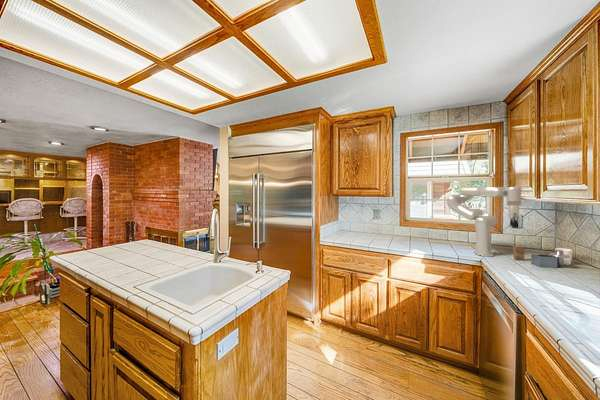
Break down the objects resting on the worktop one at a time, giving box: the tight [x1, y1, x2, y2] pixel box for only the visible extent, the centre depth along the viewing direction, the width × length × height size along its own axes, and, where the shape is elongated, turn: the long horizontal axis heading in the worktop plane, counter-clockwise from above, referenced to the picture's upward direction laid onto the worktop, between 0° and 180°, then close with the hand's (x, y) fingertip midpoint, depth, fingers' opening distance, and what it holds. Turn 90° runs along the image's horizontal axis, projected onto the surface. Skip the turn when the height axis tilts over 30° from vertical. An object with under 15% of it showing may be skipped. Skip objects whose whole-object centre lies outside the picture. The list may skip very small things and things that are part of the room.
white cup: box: [554, 247, 573, 266], centre depth 157 cm, size 8×8×10 cm
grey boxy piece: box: [530, 250, 570, 269], centre depth 152 cm, size 9×18×11 cm, turn 76°
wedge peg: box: [512, 245, 525, 262], centre depth 167 cm, size 3×5×10 cm, turn 76°
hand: (514, 226), depth 163 cm, fingers open, 9 cm apart
